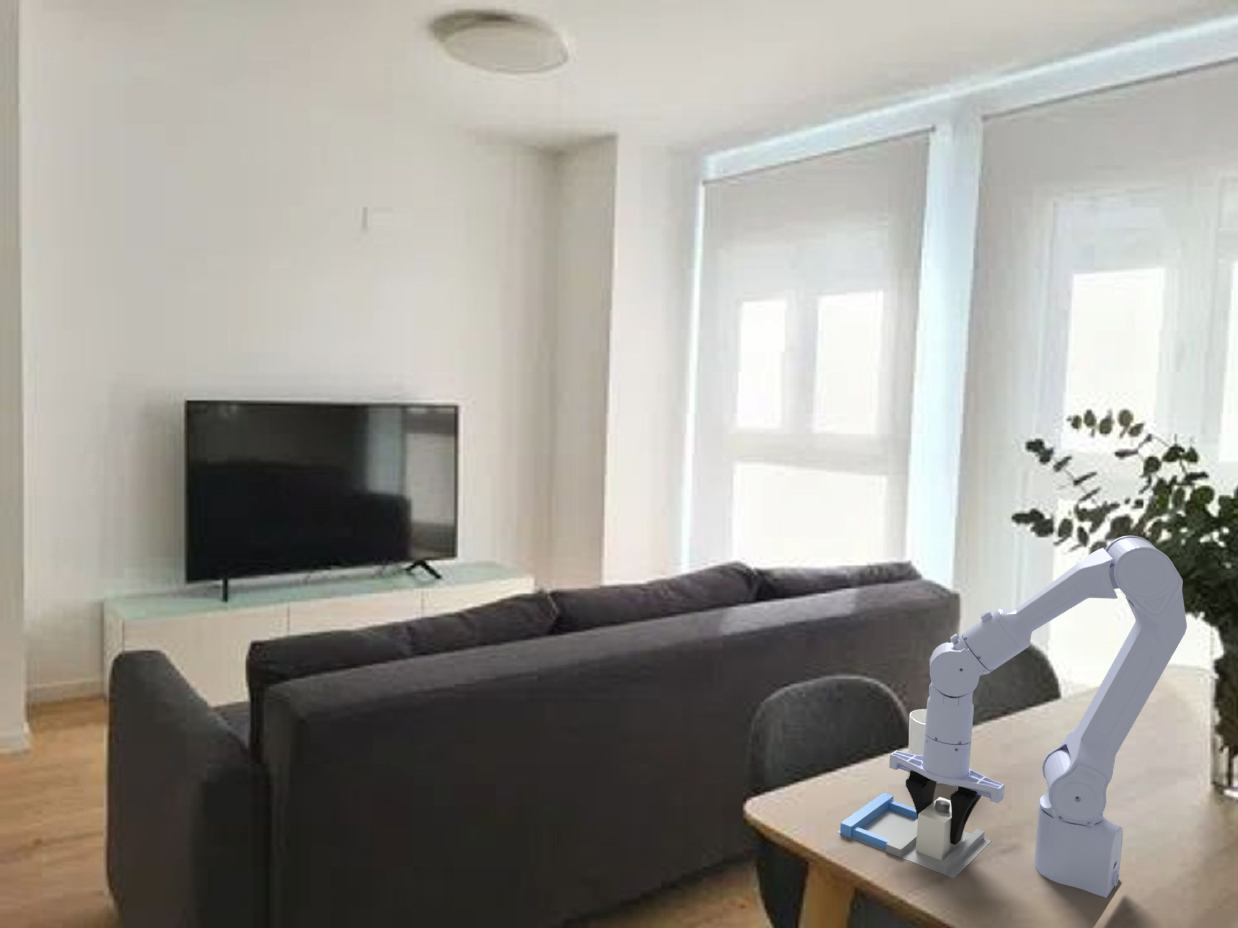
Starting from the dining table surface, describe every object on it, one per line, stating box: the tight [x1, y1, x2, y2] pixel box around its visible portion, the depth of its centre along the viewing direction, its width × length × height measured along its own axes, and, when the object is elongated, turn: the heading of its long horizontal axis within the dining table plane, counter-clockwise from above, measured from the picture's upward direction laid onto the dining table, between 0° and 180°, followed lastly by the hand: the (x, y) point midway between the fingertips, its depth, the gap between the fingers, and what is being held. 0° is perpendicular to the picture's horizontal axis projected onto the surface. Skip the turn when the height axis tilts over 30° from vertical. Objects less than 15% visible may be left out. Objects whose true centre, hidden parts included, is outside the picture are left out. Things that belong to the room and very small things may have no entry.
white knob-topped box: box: [916, 796, 965, 861], centre depth 122 cm, size 4×7×6 cm, turn 139°
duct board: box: [836, 792, 992, 879], centre depth 124 cm, size 16×13×2 cm
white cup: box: [908, 708, 942, 785], centre depth 144 cm, size 8×8×10 cm
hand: (940, 835), depth 122 cm, fingers closed on white knob-topped box, 3 cm apart
